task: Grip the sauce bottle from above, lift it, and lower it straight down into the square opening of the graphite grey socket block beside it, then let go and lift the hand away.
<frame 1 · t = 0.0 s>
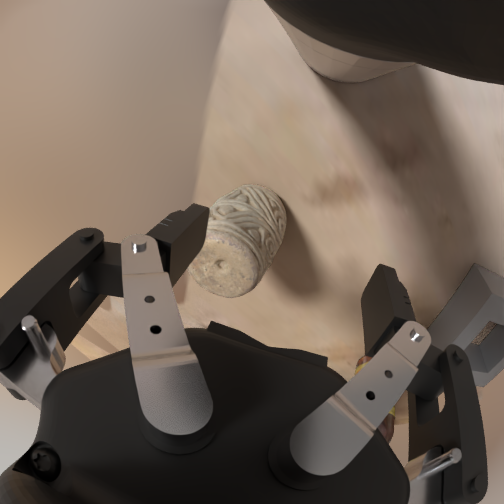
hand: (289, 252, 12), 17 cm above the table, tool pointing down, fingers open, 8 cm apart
bottle socket block: (477, 320, 30), on the table
carving: (257, 207, 31), on the table
sauce bottle: (373, 362, 40), on the table
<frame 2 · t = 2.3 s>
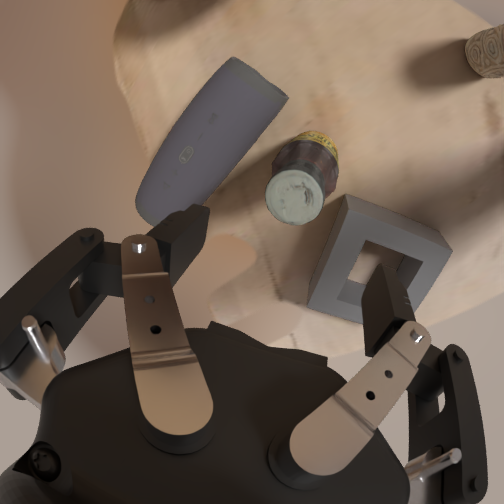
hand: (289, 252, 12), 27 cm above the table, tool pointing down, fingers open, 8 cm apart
bluetooth speaker: (218, 141, 37), on the table
bottle socket block: (374, 258, 40), on the table
carving: (478, 56, 20), on the table
sauce bottle: (312, 152, 35), on the table
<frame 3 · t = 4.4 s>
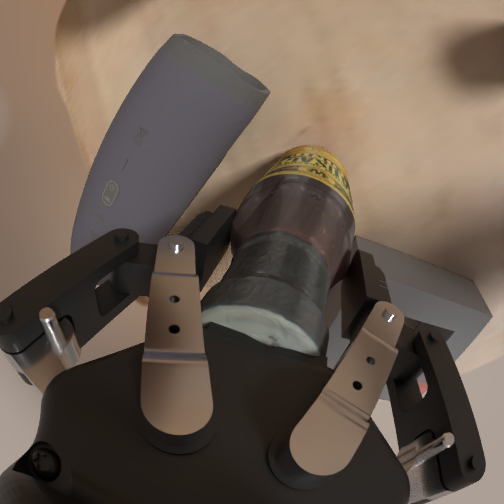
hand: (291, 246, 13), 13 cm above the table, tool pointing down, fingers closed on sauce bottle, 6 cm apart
bluetooth speaker: (174, 159, 26), on the table
bottle socket block: (388, 316, 29), on the table
sauce bottle: (309, 175, 24), on the table, touching gripper
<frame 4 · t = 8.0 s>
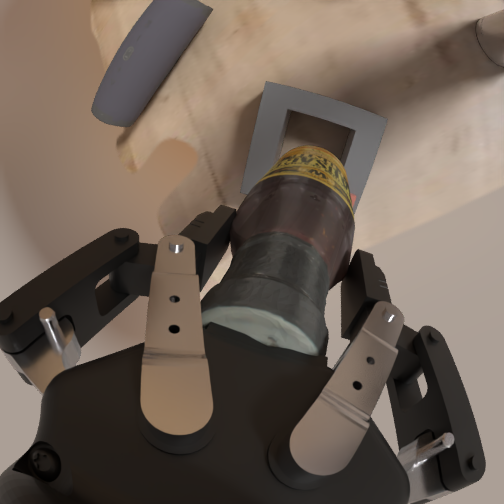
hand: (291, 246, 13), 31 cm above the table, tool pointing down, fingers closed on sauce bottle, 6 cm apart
bluetooth speaker: (164, 58, 36), on the table
bottle socket block: (312, 148, 39), on the table
sauce bottle: (309, 175, 24), point 18 cm above the table, touching gripper
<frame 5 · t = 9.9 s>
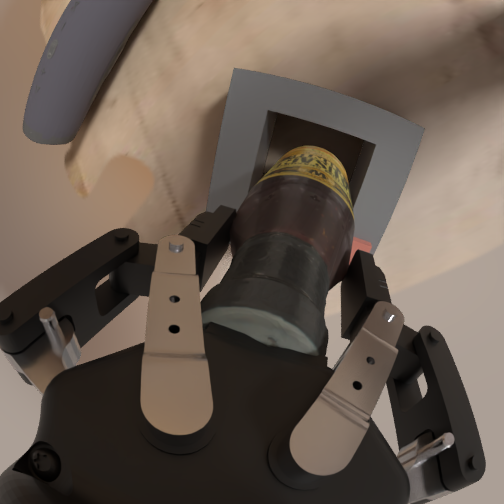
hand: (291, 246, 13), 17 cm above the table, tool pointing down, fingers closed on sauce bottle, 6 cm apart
bluetooth speaker: (111, 50, 25), on the table
bottle socket block: (309, 166, 28), on the table
sauce bottle: (309, 175, 24), point 4 cm above the table, touching gripper
when the fingers open (14 cm above the table, at t = 11.5 s): sauce bottle drops 1 cm, resting in bottle socket block.
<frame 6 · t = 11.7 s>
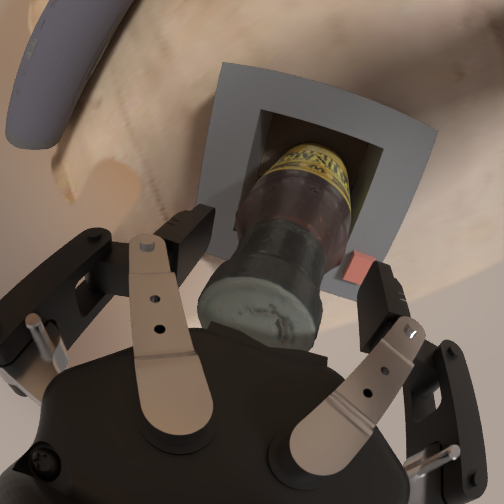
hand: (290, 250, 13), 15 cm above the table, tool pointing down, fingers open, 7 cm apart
bluetooth speaker: (97, 48, 22), on the table
bottle socket block: (308, 172, 25), on the table
sauce bottle: (311, 171, 25), resting in bottle socket block
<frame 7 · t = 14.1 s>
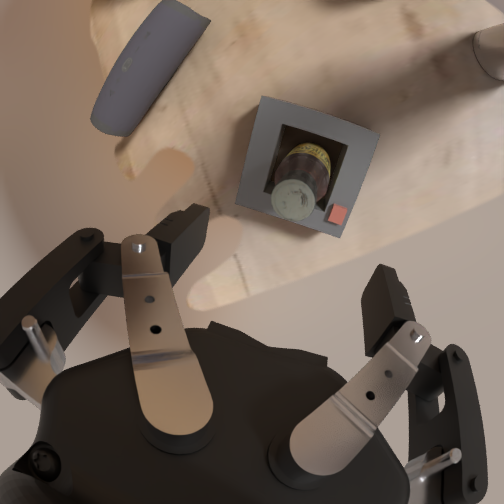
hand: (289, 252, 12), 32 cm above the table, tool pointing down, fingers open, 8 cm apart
bluetooth speaker: (162, 68, 38), on the table
bottle socket block: (306, 160, 41), on the table
sauce bottle: (308, 160, 41), resting in bottle socket block
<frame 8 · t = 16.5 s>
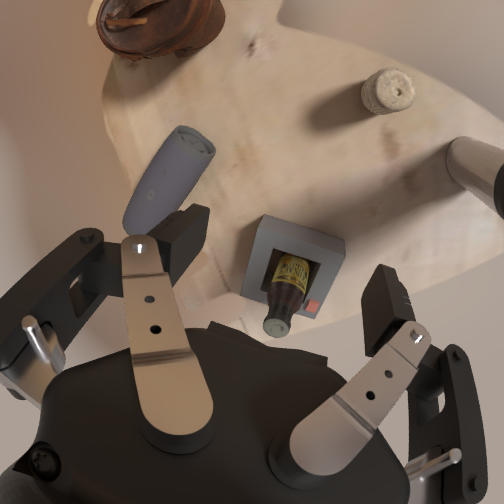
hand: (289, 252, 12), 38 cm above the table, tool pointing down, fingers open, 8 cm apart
bluetooth speaker: (177, 178, 54), on the table
bottle socket block: (292, 260, 57), on the table
case: (191, 23, 37), on the table
carving: (378, 93, 37), on the table
sauce bottle: (294, 260, 57), resting in bottle socket block
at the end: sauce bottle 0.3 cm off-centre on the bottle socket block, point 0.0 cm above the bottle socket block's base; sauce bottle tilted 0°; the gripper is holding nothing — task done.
